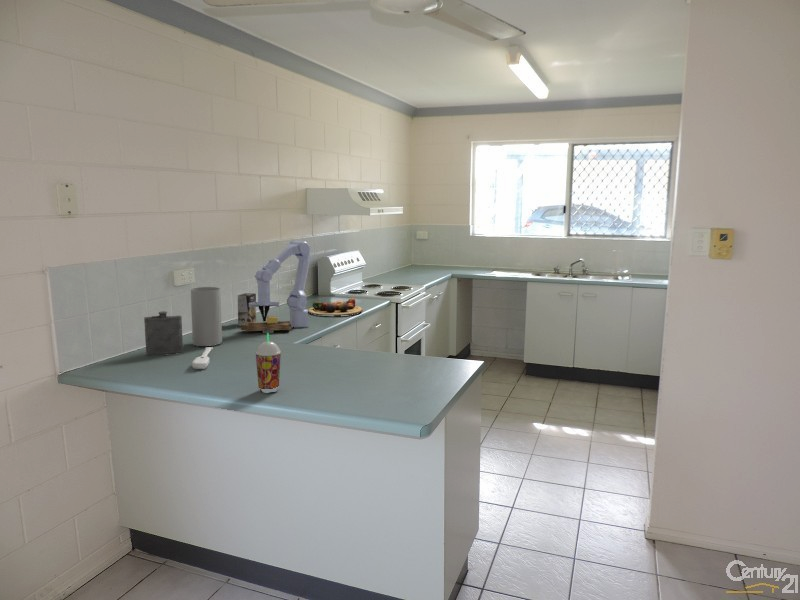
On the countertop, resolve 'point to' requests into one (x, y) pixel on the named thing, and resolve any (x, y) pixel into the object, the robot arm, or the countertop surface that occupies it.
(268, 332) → the fulcrum
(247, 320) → the coffee box
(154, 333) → the flask
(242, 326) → the brown wooden tray
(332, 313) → the wooden plate with food
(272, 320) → the block
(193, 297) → the cylinder vase
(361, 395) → the countertop surface
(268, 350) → the smoothie
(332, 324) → the countertop surface
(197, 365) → the spatula
